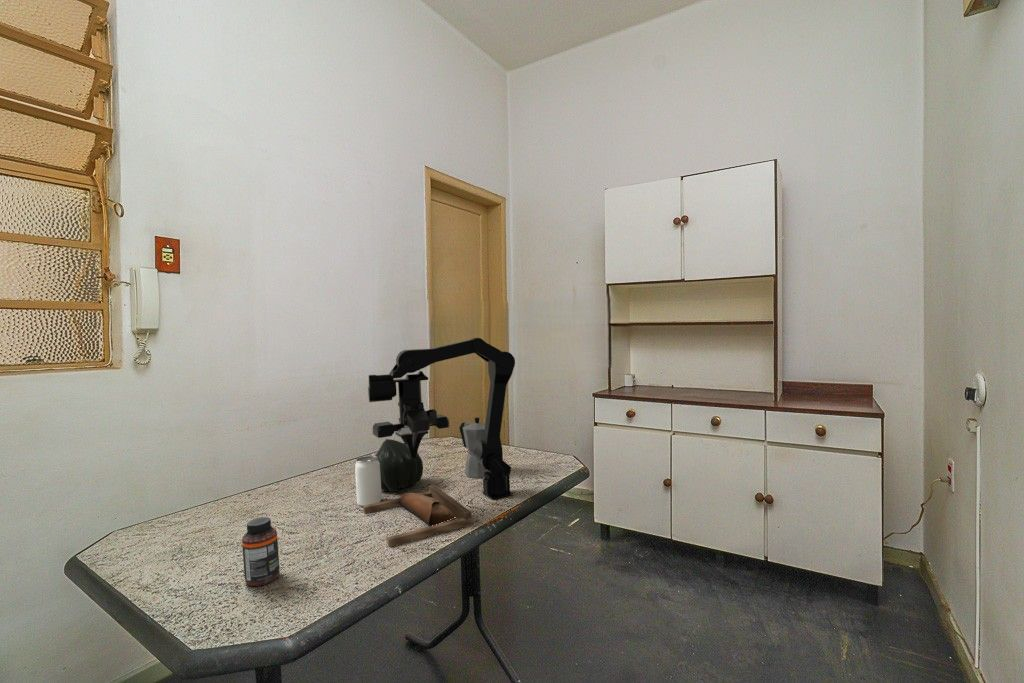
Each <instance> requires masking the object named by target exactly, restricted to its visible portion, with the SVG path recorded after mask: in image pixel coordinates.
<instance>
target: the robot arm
mask: <svg viewBox="0 0 1024 683" xmlns="http://www.w3.org/2000/svg"><path fill="white" fill-rule="evenodd" d="M470 354H475V355H477V356H478V357H479V358H481V360H483V361H485V362H487V368H488V371H487V372H488V376H489V382H490V383H489V384H490V385H489V392H488V401H487V407H486V408H487V409H486V416H485V423H484V424H485V430H484V434H483V436H482V438H481V440H479V439H476V448H475V451H474V454H476V459H477V461H478V462H479V463H480V464H481V465H482V466H483V467H484V469H485V470H487V472H485V473H484V478H482V487H483V491H482V494H483V495H484V496H486V497H488V498H489V499H491V500H497V499H502V498H506V497H509V496H512V495H513V496H514V492H513V491H511V478H510V474H511V470H512V466H511V465H509V464H508V463H507V462H506V461H505V460H504V458H503V456H504V454H503V446H502V440H501V431H502V423H503V415H504V408H505V400H506V392H507V386H508V383H509V381H510V380H511V378H512V375H513V372H514V369H515V367H516V366H515V365H516V359H515V357H514V355H513V354H512V353H511V352H508V351H505V350H500V349H498V347H497V348H496V347H495V346H493V345H491V344H490V343H488V342H486V341H485V340H484V339H483V338H480V337H472V338H469V339H466V340H463V341H461V340H460V341H458V342H454V343H449V344H445V345H440V346H437V347H436V346H435V347H433V348H415V349H403V350H402V351H400V352H399V353H397V356H396V358H395V365H394V366H393V368H392V369H391V371H390V372H389V373H388V374H369V375H368V387H367V395H368V403H376V402H388V401H392V400H393V398H395V397H396V396H397V391H398V402H397V406H398V408H399V418H398V423H394V424H393V423H391V422H389V421H383V422H375V423H374V424H373V426H372V435H374V436H375V437H376V438H378V439H381V438H388V437H392V436H393V435H396V436H397V437H399V438H401V440H402V443H404V444H405V445H406V448H407V450H408V452H409V454H410V457H411V459H415V458H416V455H417V452H418V451H419V448H420V444H421V442H422V440H423V437H425V435H428V434H429V431H430V427H436V428H437V429H438V430H439V429H446V428H450V420H449V418H448V416H445V415H443V414H440V413H439V414H438V413H437V410H436V409H435V408H433V409H428V410H425V406H424V402H423V401H422V381H428V380H429V377H428V376H427V375H426V374H424V372H423V371H422V370H423V369H425V368H427V367H428V366H430V365H432V364H435V363H437V362H443V361H447V360H451V359H454V358H459V357H463V356H467V355H470ZM415 372H418V373H415ZM413 373H415V374H413ZM404 376H405V377H404ZM403 377H404V378H403Z"/></svg>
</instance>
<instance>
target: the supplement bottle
mask: <svg viewBox="0 0 1024 683" xmlns="http://www.w3.org/2000/svg"><path fill="white" fill-rule="evenodd" d="M271 521H272V520H271V518H270V517H267V516H260V517H256V518H252V519H250V520H248V522H247V523H246V530H247V531H246V533H244V535H243V536H242V539H241V543H242V544H241V547H242V557H243V558H242V559H243V573H244V574H243V575H244V581H245V584H246V585H248V586H250V587H258V586H264V585H267V584H269V583H271V582H273V581H274V580H276V579H277V578H278V577H279V575H280V572H281V571H280V556H279V543H278V542H279V541H278V540H279V539H278V532H277V531H278V530H277V529H276V528H275V527H273V526H272V522H271Z"/></svg>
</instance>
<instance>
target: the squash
mask: <svg viewBox="0 0 1024 683" xmlns="http://www.w3.org/2000/svg"><path fill="white" fill-rule="evenodd" d="M374 456H377V457H378V461H379V463H380V475H381V491H385V492H386V491H387V492H388V491H390V492H397V491H398V490H400V489H402V488H407V487H412V486H414V485H416V484H417V483H418V482H419V481H420V480H421V479H422V476H423V473H424V464H423V460H422V458H421V456H420V455H419V452H418V451H417V455H416V458H415V459H411V457H410V454H409V452H408V450H407V448H406V445H405V443H404V442H403V441H402V442H401V441H398V440H396V439H388V438H386V439H385V440H384V441H383V442H382V444H381V445H380V447H379V449H378V450H377V452H376V454H375V455H374Z"/></svg>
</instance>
